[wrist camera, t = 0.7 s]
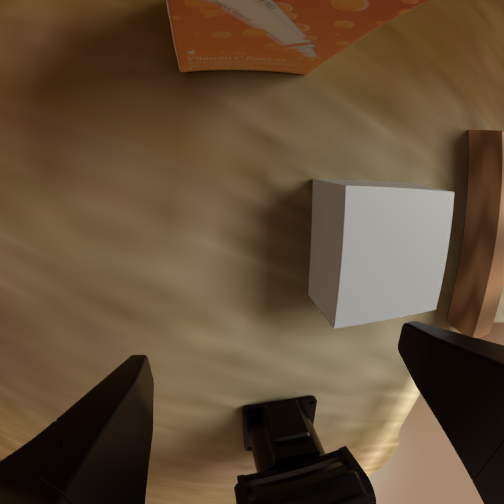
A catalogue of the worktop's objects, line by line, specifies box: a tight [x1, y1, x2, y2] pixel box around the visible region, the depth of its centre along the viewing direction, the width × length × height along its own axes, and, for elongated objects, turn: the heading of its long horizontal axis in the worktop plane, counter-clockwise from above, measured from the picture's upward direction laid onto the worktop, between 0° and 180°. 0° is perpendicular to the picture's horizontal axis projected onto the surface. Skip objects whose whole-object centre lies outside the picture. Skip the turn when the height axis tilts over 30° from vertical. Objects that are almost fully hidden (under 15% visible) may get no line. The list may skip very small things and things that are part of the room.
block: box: [308, 179, 455, 329], centre depth 19 cm, size 8×8×5 cm
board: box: [446, 130, 504, 338], centre depth 21 cm, size 18×3×4 cm, turn 2°
